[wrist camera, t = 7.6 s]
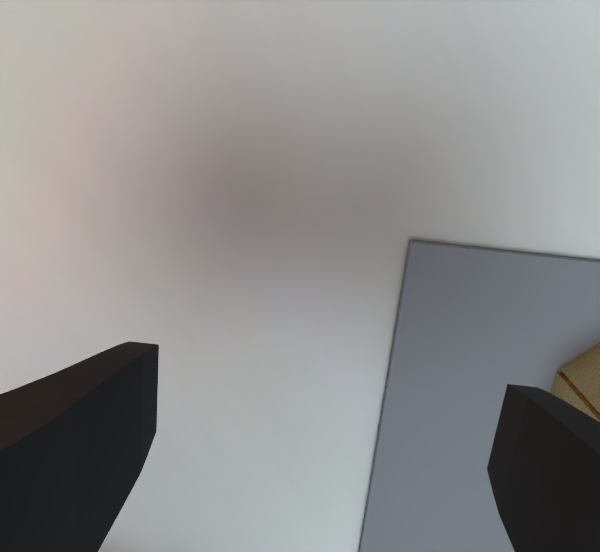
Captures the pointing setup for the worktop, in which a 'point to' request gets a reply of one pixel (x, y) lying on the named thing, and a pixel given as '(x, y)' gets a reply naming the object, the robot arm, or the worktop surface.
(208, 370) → the worktop surface
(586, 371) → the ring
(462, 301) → the mat
